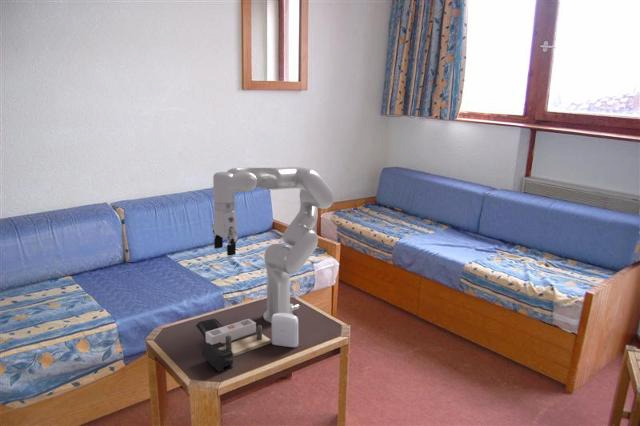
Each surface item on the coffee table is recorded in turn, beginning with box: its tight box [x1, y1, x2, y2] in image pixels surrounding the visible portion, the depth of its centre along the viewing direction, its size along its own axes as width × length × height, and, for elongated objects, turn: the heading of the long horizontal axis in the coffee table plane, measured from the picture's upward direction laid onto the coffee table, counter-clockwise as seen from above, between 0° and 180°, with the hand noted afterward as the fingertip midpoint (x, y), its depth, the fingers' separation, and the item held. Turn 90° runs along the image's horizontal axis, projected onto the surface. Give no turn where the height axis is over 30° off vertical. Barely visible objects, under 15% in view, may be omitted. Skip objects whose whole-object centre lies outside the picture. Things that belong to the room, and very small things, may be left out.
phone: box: [197, 318, 223, 337], centre depth 197 cm, size 8×1×15 cm
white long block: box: [205, 318, 257, 345], centre depth 191 cm, size 19×5×4 cm, turn 130°
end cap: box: [200, 342, 234, 373], centre depth 171 cm, size 10×7×7 cm
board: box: [219, 324, 272, 360], centre depth 184 cm, size 19×7×6 cm, turn 129°
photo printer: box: [271, 313, 299, 348], centre depth 186 cm, size 10×4×12 cm, turn 76°
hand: (224, 251), depth 185 cm, fingers open, 9 cm apart
